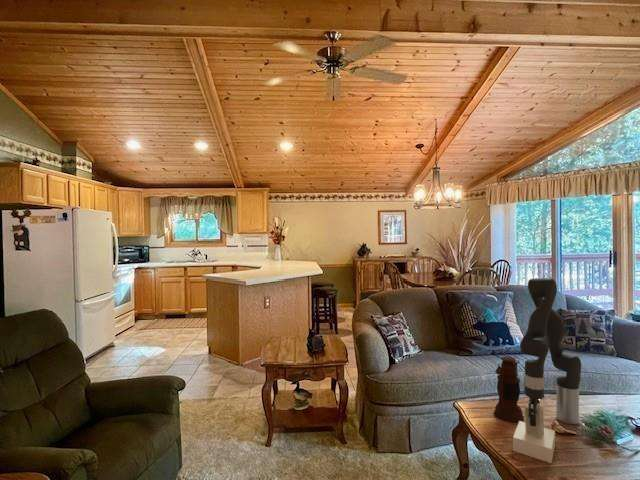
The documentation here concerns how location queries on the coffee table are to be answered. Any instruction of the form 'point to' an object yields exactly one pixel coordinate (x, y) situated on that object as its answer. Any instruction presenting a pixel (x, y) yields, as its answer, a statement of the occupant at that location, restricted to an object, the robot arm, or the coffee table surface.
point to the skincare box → (539, 428)
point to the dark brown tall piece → (508, 392)
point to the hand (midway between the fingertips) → (534, 421)
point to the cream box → (534, 443)
